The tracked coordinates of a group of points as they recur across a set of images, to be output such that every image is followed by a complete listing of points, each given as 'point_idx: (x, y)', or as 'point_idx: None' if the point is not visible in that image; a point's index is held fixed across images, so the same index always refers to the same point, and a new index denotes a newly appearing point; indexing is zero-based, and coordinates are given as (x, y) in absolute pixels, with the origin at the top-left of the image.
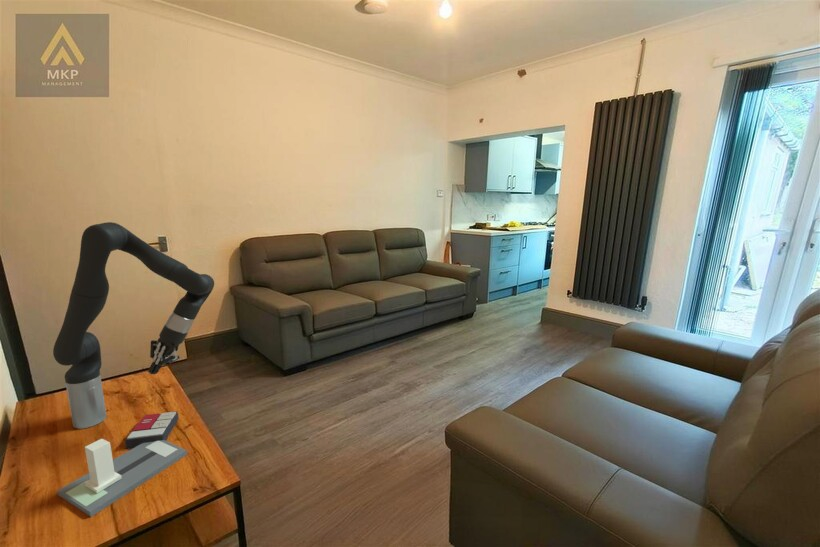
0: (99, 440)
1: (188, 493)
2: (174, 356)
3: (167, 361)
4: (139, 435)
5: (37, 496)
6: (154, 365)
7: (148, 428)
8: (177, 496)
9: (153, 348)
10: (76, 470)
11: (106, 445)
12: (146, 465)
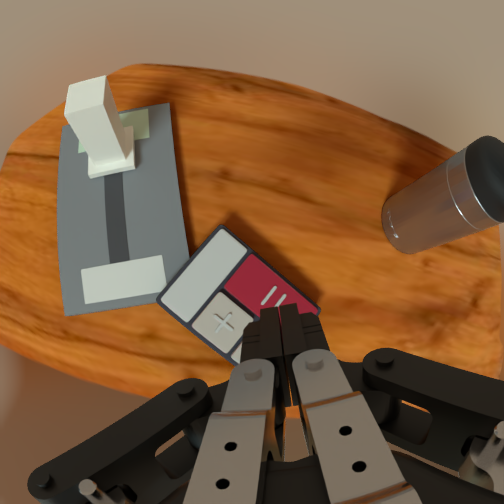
0: (99, 99)
1: None
2: (42, 502)
3: (96, 435)
4: (206, 255)
5: (198, 92)
6: (266, 347)
7: (224, 286)
8: None
9: (456, 409)
10: (223, 142)
11: (65, 109)
12: (88, 228)
